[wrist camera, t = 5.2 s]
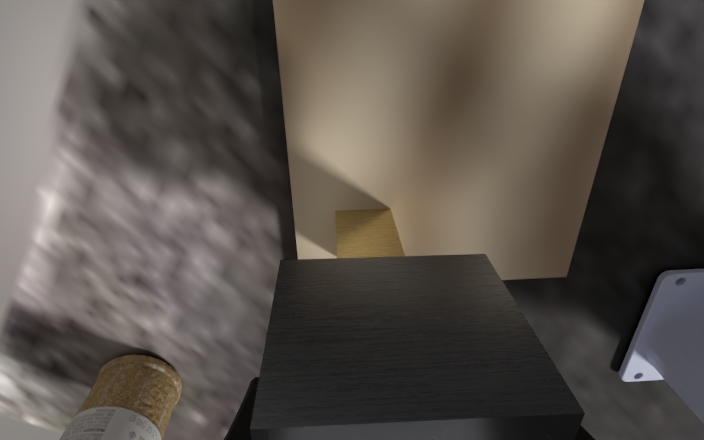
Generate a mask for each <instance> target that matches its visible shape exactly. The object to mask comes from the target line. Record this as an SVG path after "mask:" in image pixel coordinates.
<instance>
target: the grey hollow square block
mask: <svg viewBox="0 0 704 440" xmlns="http://www.w3.org/2000/svg"><path fill="white" fill-rule="evenodd" d="M584 414H585V413H584V411H583V409H582V408H581V406H580V405H579V403H578V401H577V400H576V398H575V397H574V395H573V393H572V392H571V390H570V389H569V387H568V385H567V384H566V382H565V381H564V379H563V377H562V376H561V374H560V373H559V371H558V369H557V368H556V366H555V365H554V363H553V361H552V360H551V358H550V357H549V355H548V353H547V352H546V350H545V349H544V347H543V345H542V344H541V342H540V341H539V339H538V337H537V336H536V334H535V333H534V331H533V329H532V328H531V326H530V325H529V323H528V321H527V320H526V318H525V317H524V315H523V313H522V312H521V310H520V309H519V307H518V305H517V304H516V302H515V301H514V299H513V297H512V296H511V294H510V293H509V291H508V289H507V288H506V286H505V284H504V283H503V281H502V280H501V278H500V276H499V275H498V273H497V272H496V270H495V268H494V267H493V265H492V264H491V262H490V260H489V259H488V257H487V256H486V254H463V255H429V256H396V257H363V258H329V259H296V260H280V265H279V271H278V276H277V282H276V287H275V293H274V298H273V304H272V309H271V315H270V320H269V326H268V332H267V337H266V343H265V348H264V354H263V359H262V365H261V370H260V376H259V381H258V387H257V392H256V398H255V403H254V409H253V414H252V420H251V425H250V433H251V439H252V440H575V437H576V435H577V432H578V429H579V427H580V424H581V422H582V419H583V417H584Z"/></svg>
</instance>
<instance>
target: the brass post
mask: <svg viewBox="0 0 704 440" xmlns="http://www.w3.org/2000/svg"><path fill="white" fill-rule="evenodd" d="M335 216H336V239H337V258H363V257H396V256H405V254H404V251H403V248H402V244H401V241H400V238H399V234H398V231H397V228H396V225H395V221H394V218H393V215H392V212H391V208H388V209H365V210H341V211H335Z"/></svg>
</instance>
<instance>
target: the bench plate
mask: <svg viewBox="0 0 704 440" xmlns="http://www.w3.org/2000/svg"><path fill="white" fill-rule="evenodd" d="M643 4H644V0H273V8H274V18H275V29H276V39H277V49H278V59H279V70H280V80H281V90H282V101H283V111H284V121H285V131H286V142H287V152H288V162H289V172H290V183H291V193H292V203H293V213H294V224H295V234H296V244H297V254H298V259H329V258H337V239H336V216H335V211H341V210H365V209H388V208H391V212H392V215H393V218H394V221H395V225H396V228H397V231H398V234H399V238H400V241H401V244H402V248H403V251H404V254H405V256H429V255H463V254H486V256H487V257H488V259H489V260H490V262H491V264H492V265H493V267H494V268H495V270H496V272H497V273H498V275H499V276H500V278H501V280H515V279H535V278H555V277H567V273H568V270H569V266H570V262H571V259H572V255H573V252H574V248H575V245H576V241H577V238H578V234H579V231H580V227H581V223H582V220H583V216H584V213H585V209H586V206H587V202H588V199H589V195H590V192H591V188H592V184H593V181H594V177H595V174H596V170H597V167H598V163H599V160H600V156H601V153H602V149H603V145H604V142H605V138H606V135H607V131H608V128H609V124H610V121H611V117H612V114H613V110H614V106H615V103H616V99H617V96H618V92H619V89H620V85H621V82H622V78H623V75H624V71H625V67H626V64H627V60H628V57H629V53H630V50H631V46H632V43H633V39H634V35H635V32H636V28H637V25H638V21H639V18H640V14H641V11H642V7H643Z"/></svg>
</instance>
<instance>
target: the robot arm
mask: <svg viewBox="0 0 704 440" xmlns="http://www.w3.org/2000/svg"><path fill="white" fill-rule="evenodd" d="M618 375H619V376H620V378H621V379H622V380H623V381H626V382H632V381H648V380H665V381H666V382H667V383H668V384H669V385H670V386H671V387H672V389H673V390H674V391H675V392H676V393H677V394H678V395H679V397H680V398H681V399H682V400H683V401H684V402H685V403H686V405H687V406H688V407H689V408H690V409H691V410H692V411H693V412H694V414H695V415H696V416H697V417H698V418H699V419H700V420H701V422H702V423H703V424H704V269H687V270H669V271H665V272H663V273H661V274H660V275H659V277H658V278H657V281H656V283H655V285H654V288H653V290H652V293H651V295H650V298H649V300H648V302H647V305H646V307H645V310H644V312H643V315H642V317H641V319H640V322H639V324H638V327H637V329H636V332H635V334H634V336H633V339H632V341H631V344H630V346H629V349H628V351H627V353H626V356H625V358H624V361H623V363H622V365H621V368H620V370H619V374H618ZM258 381H259V377H256V378H254V379H253V380H252V381H251V383H250V385H249V388H248V390H247V393H246V395H245V397H244V400H243V402H242V404H241V406H240V409H239V411H238V413H237V415H236V417H235V419H234V421H233V423H232V425H231V427H230V429H229V431H228V433H227V435H226V437H225V439H224V440H252V439H251V433H250V425H251V420H252V414H253V409H254V403H255V398H256V392H257V387H258ZM575 440H595V439H594V438H593V437H592V436H591V435H590V434H589V433H588V432H587V431H586V430H585V429H584V428H583V427H582V426H581V425H580V427H579V429H578V432H577V435H576V437H575Z"/></svg>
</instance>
